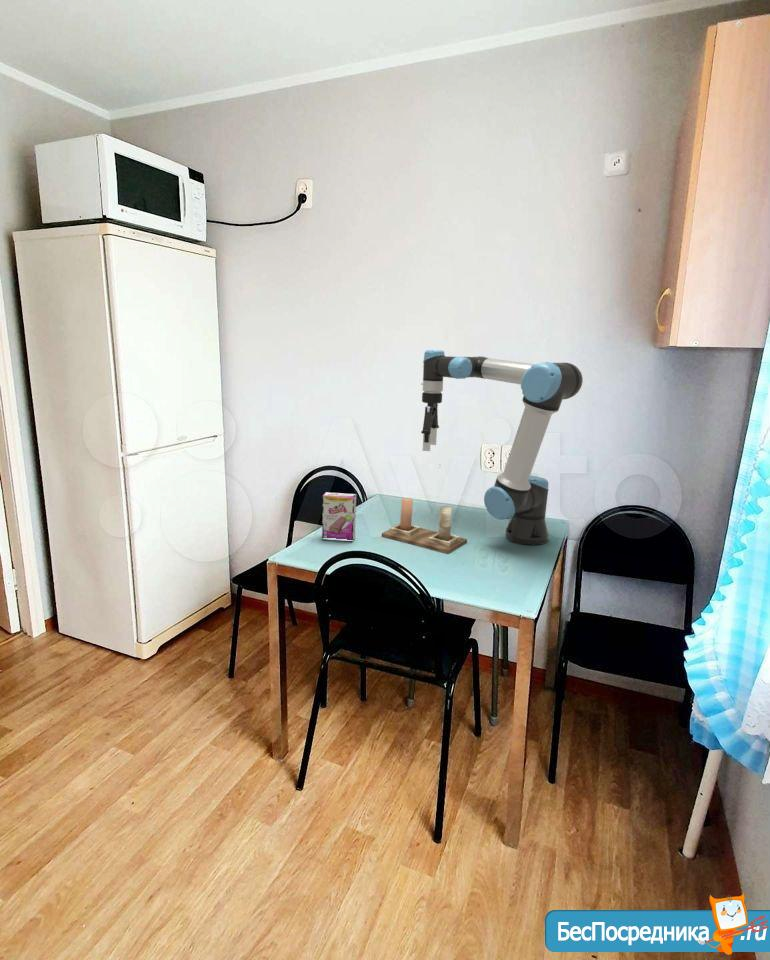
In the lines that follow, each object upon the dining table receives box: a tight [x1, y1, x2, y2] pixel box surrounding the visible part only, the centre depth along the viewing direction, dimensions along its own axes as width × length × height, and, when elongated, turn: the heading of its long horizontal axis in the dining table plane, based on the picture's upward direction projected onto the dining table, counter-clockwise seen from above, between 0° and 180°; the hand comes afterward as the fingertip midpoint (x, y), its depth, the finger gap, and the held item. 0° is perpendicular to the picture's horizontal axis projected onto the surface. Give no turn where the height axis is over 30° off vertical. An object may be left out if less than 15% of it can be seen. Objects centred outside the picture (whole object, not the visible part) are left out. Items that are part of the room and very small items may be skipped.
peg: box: [399, 497, 414, 531], centre depth 202 cm, size 4×4×12 cm
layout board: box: [381, 506, 468, 555], centre depth 198 cm, size 27×14×13 cm, turn 56°
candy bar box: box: [321, 491, 357, 541], centre depth 195 cm, size 11×5×16 cm, turn 84°
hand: (429, 447), depth 216 cm, fingers open, 13 cm apart
